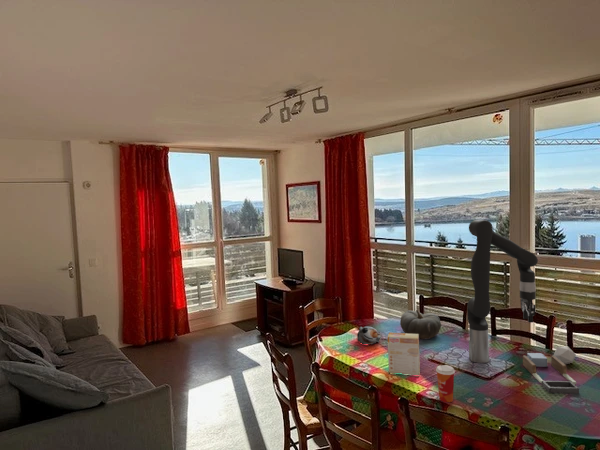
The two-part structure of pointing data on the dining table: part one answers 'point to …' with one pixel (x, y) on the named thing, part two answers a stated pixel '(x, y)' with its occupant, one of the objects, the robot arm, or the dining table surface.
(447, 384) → the paper cup
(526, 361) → the tunnel
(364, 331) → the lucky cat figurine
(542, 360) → the block
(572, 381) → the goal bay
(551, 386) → the tray
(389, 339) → the coffeecake box
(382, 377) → the dining table surface
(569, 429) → the dining table surface
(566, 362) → the die
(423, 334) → the gourd
